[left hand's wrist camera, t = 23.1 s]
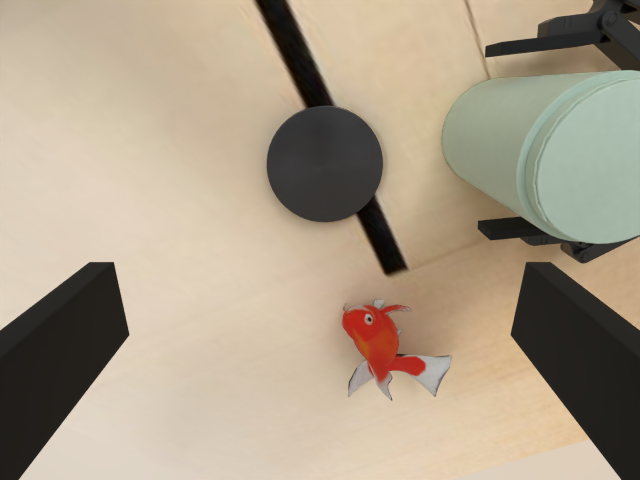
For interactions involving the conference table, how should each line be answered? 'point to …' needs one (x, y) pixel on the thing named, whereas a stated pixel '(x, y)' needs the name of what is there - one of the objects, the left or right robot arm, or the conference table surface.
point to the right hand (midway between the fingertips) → (487, 147)
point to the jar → (554, 150)
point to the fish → (387, 350)
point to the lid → (324, 163)
